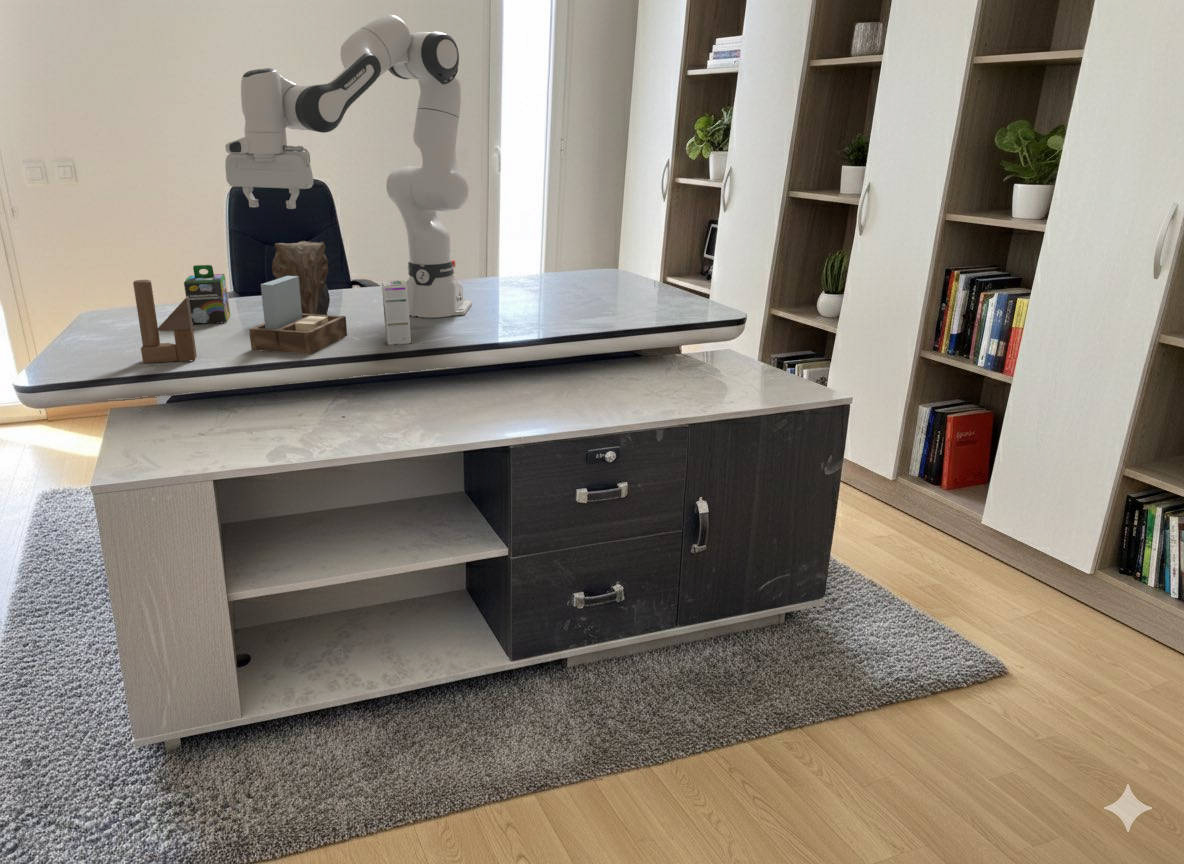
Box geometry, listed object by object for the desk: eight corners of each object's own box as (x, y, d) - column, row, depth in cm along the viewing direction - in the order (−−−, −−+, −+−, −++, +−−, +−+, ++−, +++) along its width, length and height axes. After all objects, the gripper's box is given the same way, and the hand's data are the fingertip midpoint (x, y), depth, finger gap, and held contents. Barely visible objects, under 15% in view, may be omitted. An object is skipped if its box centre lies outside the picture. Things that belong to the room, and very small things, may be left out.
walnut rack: (291, 332, 234) (289, 312, 233) (347, 335, 231) (345, 316, 230) (251, 349, 217) (249, 329, 216) (311, 354, 214) (309, 333, 213)
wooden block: (195, 361, 208) (184, 281, 202) (142, 363, 205) (130, 282, 199) (197, 357, 211) (186, 278, 205) (145, 359, 208) (133, 279, 202)
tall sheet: (293, 335, 231) (287, 275, 226) (304, 336, 230) (298, 276, 225) (267, 347, 220) (260, 284, 215) (278, 348, 219) (272, 285, 214)
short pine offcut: (310, 324, 226) (310, 316, 226) (328, 324, 226) (327, 316, 225) (295, 331, 219) (295, 323, 218) (314, 332, 218) (313, 323, 218)
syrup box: (411, 343, 225) (408, 284, 220) (386, 345, 223) (383, 285, 218) (409, 338, 230) (405, 280, 225) (384, 339, 228) (381, 280, 223)
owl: (272, 320, 247) (264, 244, 240) (301, 310, 258) (294, 238, 252) (312, 324, 243) (305, 247, 236) (340, 314, 254) (334, 240, 248)
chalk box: (230, 316, 251) (224, 261, 246) (226, 323, 243) (219, 266, 238) (194, 317, 249) (187, 262, 244) (188, 325, 241) (181, 267, 236)
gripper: (315, 145, 211) (320, 208, 215) (234, 143, 215) (241, 205, 219) (301, 146, 205) (307, 210, 210) (218, 144, 209) (225, 207, 214)
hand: (272, 207), depth 215 cm, fingers open, 8 cm apart
